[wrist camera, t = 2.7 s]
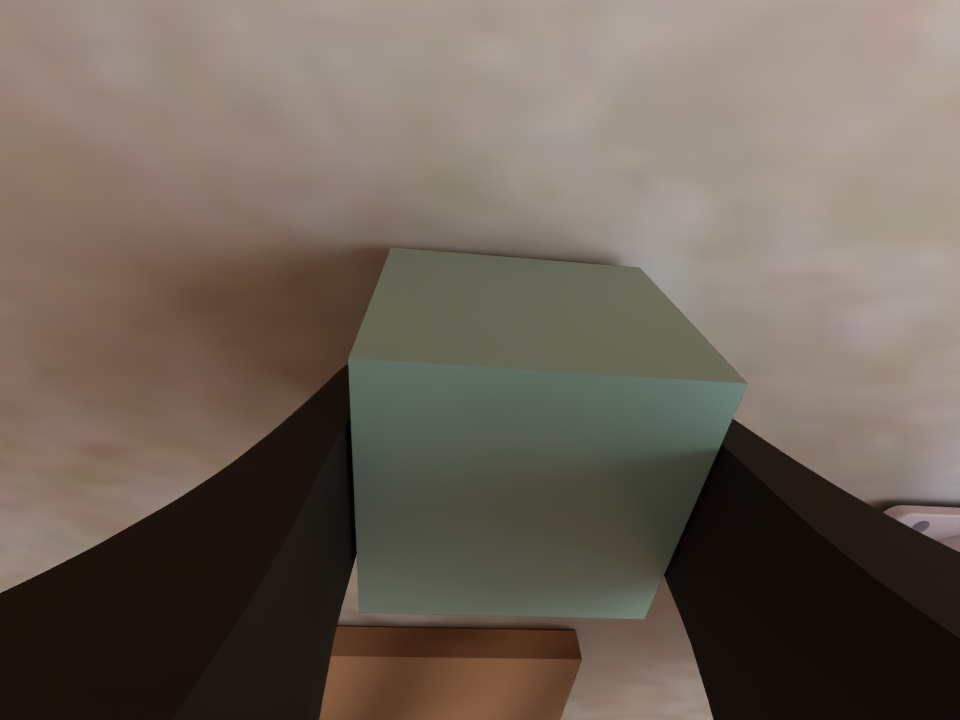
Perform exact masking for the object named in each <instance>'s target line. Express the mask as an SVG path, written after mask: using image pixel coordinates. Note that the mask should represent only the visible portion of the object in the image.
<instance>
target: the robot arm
mask: <svg viewBox="0 0 960 720" xmlns="http://www.w3.org/2000/svg"><path fill="white" fill-rule="evenodd" d="M356 554H357V548H356V526H355V503H354V480H353V458H352V435H351V412H350V390H349V367H348V365H345V366H344V367H343V368H342V369H341V370H339V371H338V372H337V373H336V374H335V375H334V376H333V377H332V378H331V379H330V380H329V381H328V382H327V383H326V384H325V385H324V386H323V387H321V388H320V389H319V390H318V391H317V392H316V393H315V394H314V395H313V396H312V397H311V398H310V399H309V400H308V401H306V402H305V403H304V404H303V405H302V406H301V407H300V408H299V409H297V410H296V411H295V412H294V413H293V414H292V415H291V416H290V417H288V418H287V419H286V420H285V421H284V422H283V423H282V424H280V425H279V426H278V427H277V428H276V429H274V430H273V431H272V432H271V433H270V434H268V435H267V436H266V437H264V438H263V439H262V440H261V441H259V442H258V443H257V444H256V445H254V446H253V447H252V448H251V449H249V450H248V451H247V452H245V453H244V454H243V455H242V456H240V457H239V458H238V459H236V460H235V461H234V462H232V463H231V464H230V465H228V466H227V467H225V468H224V469H222V470H221V471H220V472H218V473H217V474H215V475H214V476H212V477H211V478H209V479H208V480H206V481H205V482H203V483H202V484H200V485H199V486H197V487H195V488H194V489H192V490H191V491H189V492H188V493H186V494H185V495H183V496H182V497H180V498H178V499H177V500H175V501H173V502H172V503H170V504H169V505H167V506H165V507H163V508H162V509H160V510H158V511H156V512H155V513H153V514H151V515H149V516H147V517H146V518H144V519H142V520H140V521H139V522H137V523H135V524H133V525H132V526H130V527H128V528H126V529H125V530H123V531H121V532H119V533H118V534H116V535H114V536H112V537H111V538H109V539H107V540H105V541H104V542H102V543H100V544H98V545H96V546H94V547H92V548H91V549H89V550H87V551H85V552H83V553H81V554H79V555H77V556H75V557H73V558H71V559H69V560H67V561H65V562H63V563H61V564H59V565H57V566H55V567H53V568H51V569H50V570H48V571H46V572H44V573H41V574H39V575H37V576H35V577H33V578H31V579H29V580H27V581H25V582H23V583H21V584H19V585H17V586H14V587H12V588H10V589H8V590H6V591H4V592H2V593H0V720H319V718H320V713H321V707H322V701H323V696H324V690H325V685H326V680H327V674H328V669H329V664H330V658H331V653H332V647H333V642H334V637H335V632H336V628H337V624H338V620H339V616H340V611H341V607H342V604H343V600H344V597H345V593H346V590H347V586H348V583H349V579H350V576H351V572H352V568H353V565H354V561H355V558H356ZM664 577H665V579H666V581H667V584H668V586H669V589H670V591H671V593H672V596H673V598H674V601H675V603H676V605H677V608H678V610H679V613H680V615H681V618H682V620H683V623H684V626H685V628H686V631H687V634H688V637H689V639H690V642H691V645H692V649H693V652H694V655H695V658H696V662H697V665H698V668H699V672H700V675H701V678H702V681H703V685H704V688H705V691H706V695H707V698H708V701H709V705H710V708H711V712H712V716H713V719H714V720H960V508H955V507H931V506H907V505H900V506H894V507H891V508H889V509H887V510H886V511H884V512H881V511H879V510H877V509H876V508H874V507H872V506H870V505H868V504H866V503H865V502H863V501H861V500H859V499H858V498H856V497H854V496H852V495H851V494H849V493H847V492H846V491H844V490H842V489H840V488H839V487H837V486H836V485H834V484H832V483H831V482H829V481H827V480H826V479H824V478H823V477H821V476H819V475H818V474H816V473H814V472H813V471H811V470H810V469H808V468H806V467H805V466H803V465H802V464H800V463H799V462H797V461H795V460H794V459H792V458H791V457H789V456H788V455H786V454H785V453H783V452H782V451H780V450H779V449H777V448H775V447H774V446H772V445H771V444H769V443H768V442H767V441H765V440H764V439H762V438H761V437H759V436H758V435H756V434H755V433H753V432H752V431H750V430H749V429H747V428H746V427H744V426H743V425H741V424H740V423H738V422H737V421H736V420H734V419H732V421H731V423H730V425H729V428H728V430H727V432H726V435H725V437H724V439H723V441H722V444H721V446H720V448H719V451H718V453H717V455H716V457H715V460H714V462H713V464H712V466H711V469H710V471H709V473H708V476H707V478H706V480H705V482H704V485H703V487H702V489H701V492H700V494H699V496H698V498H697V501H696V503H695V505H694V507H693V510H692V512H691V514H690V517H689V519H688V521H687V523H686V526H685V528H684V530H683V533H682V535H681V537H680V539H679V542H678V544H677V546H676V549H675V551H674V553H673V555H672V558H671V560H670V562H669V564H668V567H667V569H666V571H665V574H664Z"/></svg>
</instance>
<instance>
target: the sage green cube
mask: <svg viewBox="0 0 960 720" xmlns="http://www.w3.org/2000/svg"><path fill="white" fill-rule="evenodd" d="M348 367H349V390H350V412H351V435H352V458H353V480H354V503H355V526H356V548H357V571H358V594H359V613H389V614H434V615H479V616H524V617H569V618H614V619H645V617H646V615H647V612H648V610H649V608H650V606H651V603H652V601H653V599H654V596H655V594H656V592H657V590H658V587H659V585H660V583H661V580H662V578H663V576H664V574H665V571H666V569H667V567H668V564H669V562H670V560H671V558H672V555H673V553H674V551H675V549H676V546H677V544H678V542H679V539H680V537H681V535H682V533H683V530H684V528H685V526H686V523H687V521H688V519H689V517H690V514H691V512H692V510H693V507H694V505H695V503H696V501H697V498H698V496H699V494H700V492H701V489H702V487H703V485H704V482H705V480H706V478H707V476H708V473H709V471H710V469H711V466H712V464H713V462H714V460H715V457H716V455H717V453H718V451H719V448H720V446H721V444H722V441H723V439H724V437H725V435H726V432H727V430H728V428H729V425H730V423H731V421H732V419H733V416H734V414H735V412H736V409H737V407H738V405H739V403H740V400H741V398H742V396H743V394H744V391H745V389H746V387H747V384H748V383H747V382H746V381H745V380H744V379H743V378H742V377H741V376H740V375H739V374H738V373H737V372H736V371H735V369H734V368H733V367H732V366H731V365H730V364H729V363H728V362H727V361H726V360H725V359H724V358H723V357H722V356H721V354H720V353H719V352H718V351H717V350H716V349H715V348H714V347H713V346H712V345H711V344H710V343H709V342H708V341H707V339H706V338H705V337H704V336H703V335H702V334H701V333H700V332H699V331H698V330H697V329H696V328H695V327H694V325H693V324H692V323H691V322H690V321H689V320H688V319H687V318H686V317H685V316H684V315H683V314H682V313H681V312H680V310H679V309H678V308H677V307H676V306H675V305H674V304H673V303H672V302H671V301H670V300H669V299H668V298H667V297H666V295H665V294H664V293H663V292H662V291H661V290H660V289H659V288H658V287H657V286H656V285H655V284H654V283H653V281H652V280H651V279H650V278H649V277H648V276H647V275H646V274H645V273H644V272H643V271H642V270H641V269H640V268H638V267H626V266H613V265H601V264H589V263H577V262H564V261H552V260H540V259H528V258H515V257H503V256H491V255H479V254H466V253H454V252H442V251H430V250H417V249H405V248H393V247H391V249H390V252H389V254H388V257H387V260H386V262H385V265H384V267H383V270H382V272H381V275H380V278H379V280H378V283H377V285H376V288H375V291H374V293H373V296H372V298H371V301H370V303H369V306H368V309H367V311H366V314H365V316H364V319H363V321H362V324H361V327H360V329H359V332H358V334H357V337H356V339H355V342H354V345H353V347H352V350H351V352H350V355H349V358H348Z"/></svg>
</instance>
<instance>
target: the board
mask: <svg viewBox="0 0 960 720" xmlns="http://www.w3.org/2000/svg"><path fill="white" fill-rule="evenodd" d="M581 660H582V658H581V653H580V649H579V644H578V639H577V634H576V631H568V630H513V629H457V628H402V627H346V626H337V628H336V632H335V637H334V642H333V647H332V653H331V658H330V664H329V669H328V674H327V680H326V685H325V690H324V696H323V701H322V707H321V713H320V718H319V720H560V719H561V716H562V713H563V711H564V708H565V705H566V702H567V699H568V697H569V694H570V691H571V688H572V685H573V683H574V680H575V677H576V674H577V672H578V669H579V666H580V663H581Z"/></svg>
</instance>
